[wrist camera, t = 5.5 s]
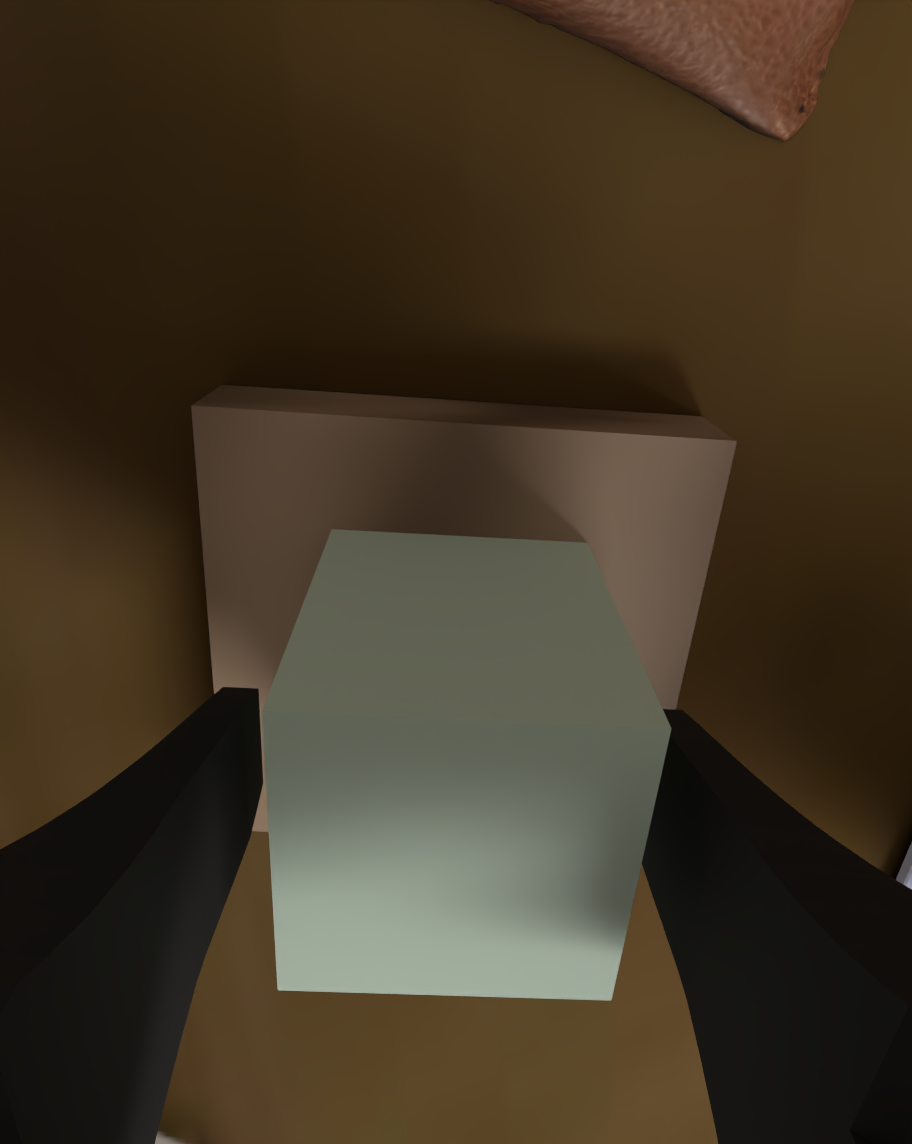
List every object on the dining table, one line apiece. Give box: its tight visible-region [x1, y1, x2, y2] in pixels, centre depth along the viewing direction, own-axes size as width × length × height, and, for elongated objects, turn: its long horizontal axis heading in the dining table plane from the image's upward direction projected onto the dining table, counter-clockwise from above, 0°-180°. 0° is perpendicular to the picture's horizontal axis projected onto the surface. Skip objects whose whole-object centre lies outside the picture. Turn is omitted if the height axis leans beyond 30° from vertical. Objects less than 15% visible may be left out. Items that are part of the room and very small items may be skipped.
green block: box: [262, 529, 671, 1000], centre depth 13 cm, size 5×5×6 cm
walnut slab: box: [191, 385, 737, 832], centre depth 17 cm, size 10×10×2 cm
